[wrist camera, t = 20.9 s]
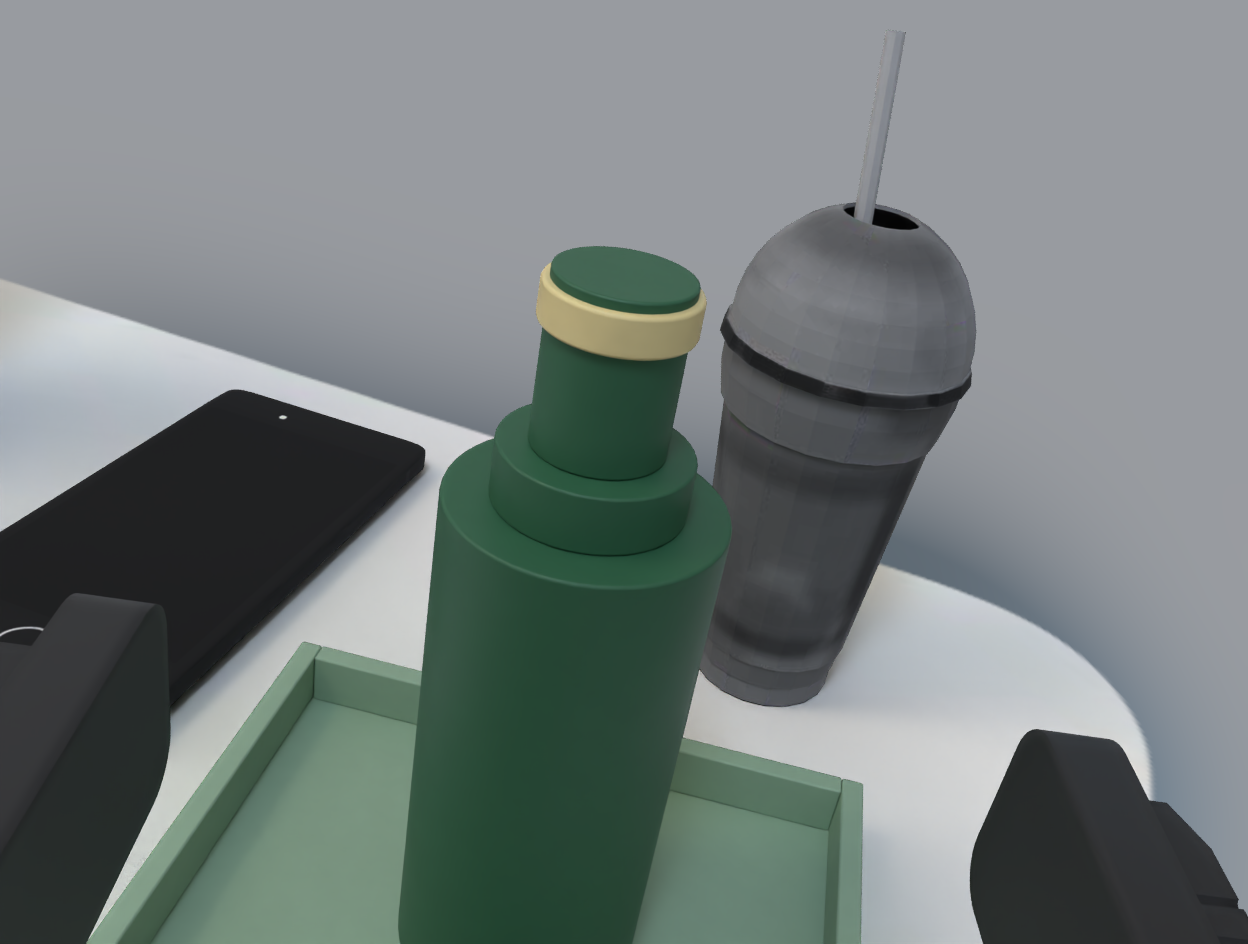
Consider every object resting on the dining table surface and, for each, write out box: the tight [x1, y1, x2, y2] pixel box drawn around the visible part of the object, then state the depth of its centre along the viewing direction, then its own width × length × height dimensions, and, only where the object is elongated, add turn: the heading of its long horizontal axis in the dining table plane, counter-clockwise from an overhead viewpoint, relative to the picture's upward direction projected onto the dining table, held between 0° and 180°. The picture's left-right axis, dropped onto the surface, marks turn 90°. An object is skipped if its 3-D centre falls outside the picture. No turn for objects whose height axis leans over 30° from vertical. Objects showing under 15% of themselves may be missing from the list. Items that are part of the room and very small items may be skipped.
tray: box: [86, 642, 863, 944], centre depth 28 cm, size 16×12×2 cm
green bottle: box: [398, 246, 732, 944], centre depth 24 cm, size 6×6×17 cm
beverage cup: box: [700, 30, 976, 706], centre depth 35 cm, size 7×7×20 cm
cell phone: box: [0, 390, 425, 706], centre depth 40 cm, size 9×18×1 cm, turn 162°
